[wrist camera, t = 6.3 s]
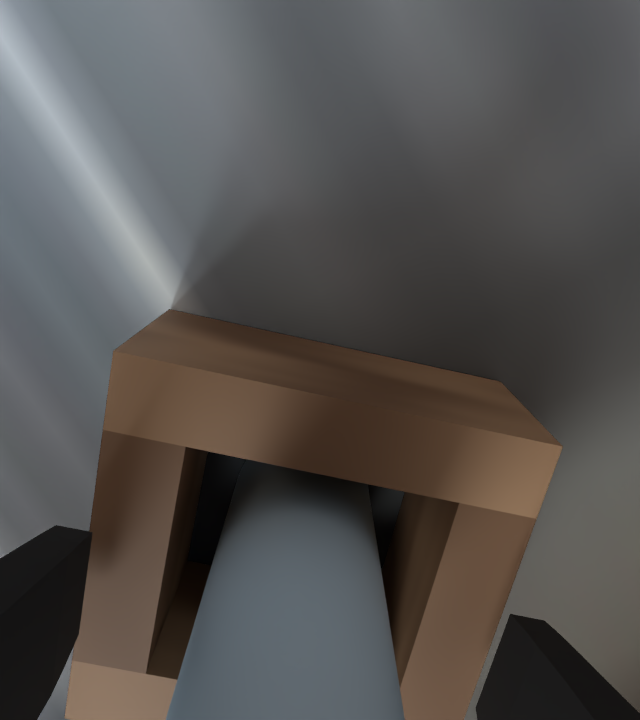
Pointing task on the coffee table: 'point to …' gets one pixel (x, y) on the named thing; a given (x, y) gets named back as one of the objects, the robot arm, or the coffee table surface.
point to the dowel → (292, 608)
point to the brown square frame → (311, 454)
